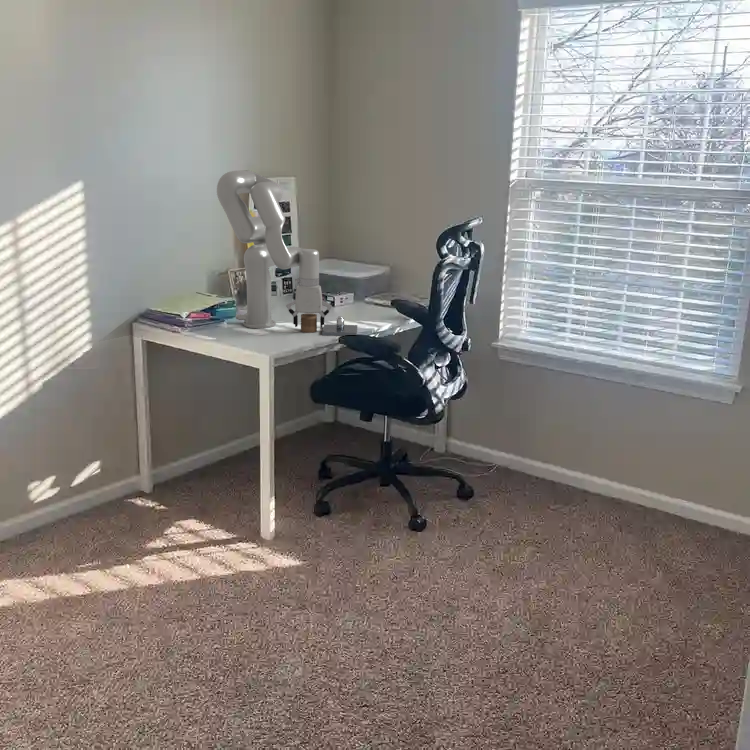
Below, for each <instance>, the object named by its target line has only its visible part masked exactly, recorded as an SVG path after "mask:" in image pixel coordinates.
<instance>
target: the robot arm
mask: <svg viewBox="0 0 750 750" xmlns="http://www.w3.org/2000/svg"><path fill="white" fill-rule="evenodd" d="M241 194H250V198H251V201H252V202H253V205H254V207H255V210H256V211H257V213H258V215H259V216H252V214H251V212H250V210H249V208H248V207H249V206H247V204H246V202H245V201H244V200H243V199H242V198H241V196H240V195H241ZM216 195H217V198H218V199H217V200H218V201H219V203H220V205H221V207H222V209H223V210H224V213H225V215H226V217H227V219H228V221H229V224H230V225H231V228H232V231H233V232H234V234H235V237H236V238H237V240H238V241H239V242H240V243H242V244H252V243H253V245H251V246H249V247H248V248H247V249H246V250H245V252H244V253H243V263H244V265H243V266H244V270H245V276H246V277H245V279H246V313H244V314H240V313H239V314H237V313H236V315H235V319H236V320H238V321H243V322H242V323H243V326H244V327H245V328H248V329H249V328H250V329H268V328H273V327H275V326H276V325H277V323H276V321H275V320H273V319H272V317H273V316H272V314H273V313H272V309H273V308H272V277H271V276H272V275H271V273H270V269H269V268H271V267H274V266H276V267H277V268H278V269H280V270H288V269H291V268H292V269H293V268H296V267H298V278H295V279H294V283H297V286H296V288H295V289H296V290H295V300H293V301H290V302H288V303H287V304H285V307H286V309H287V311H288V312H289V314H291V316H292V317H293V319H292V320H293V325H294V327H295V328H296V327H298V323H299V322H298V319H299V318H298V317H299V315H298V314H299V313H301V314H305V313H312V314H319V315H320V318H319V319H320V320H319V322H320V323H319V327H320V328H322V329H323V327H324V324H325V317H326V315H328V314H329V313H330V311H331V309H332V304H330V303H328V302H326V301H324V300H323V293H322V286H321V285H320V252H319V250H318V249H314V248H303V247H300V246H291V247H290V246H289V247H287V246H286V244H285V242H284V240H283V236H282V232H283V227H284V224H285V221H286V216H285V214H284V212H283V209H282V208H281V206H280V203H279V202H280V201H281V200H282V198H283V191H282V188H281V186H280V185H279V184H278V182H276V181H273V180H271V179H270V178H267V177H265V176H264V175H261V174H259V173H256V172H255V171H252V170H249V169H248V170H231V171H227V172H225V173H223V174H222V176H221V177H220V178H219V179H218V182H217V185H216ZM293 306H294V307H295V310H294V309H292V307H293ZM323 307H326V310H324V311H323Z"/></svg>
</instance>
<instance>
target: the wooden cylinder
mask: <svg viewBox="0 0 750 750" xmlns="http://www.w3.org/2000/svg"><path fill="white" fill-rule="evenodd" d="M317 317H318V314H317V313H301V314H300V332H302V333H309V334H310V333H316V332H318V318H317Z"/></svg>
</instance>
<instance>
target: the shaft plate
mask: <svg viewBox="0 0 750 750" xmlns="http://www.w3.org/2000/svg"><path fill="white" fill-rule="evenodd" d="M321 333H322V334H321V335H322V336H335V337H336V336H337V337H339V336H341V337H343V336H344V337H346V336H345V335H358V324H345V317H343V316H341V315H340V316H338V317H337V318H336V324H329V323H328V324H325V323H324V325H323V326H322V332H321Z"/></svg>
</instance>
